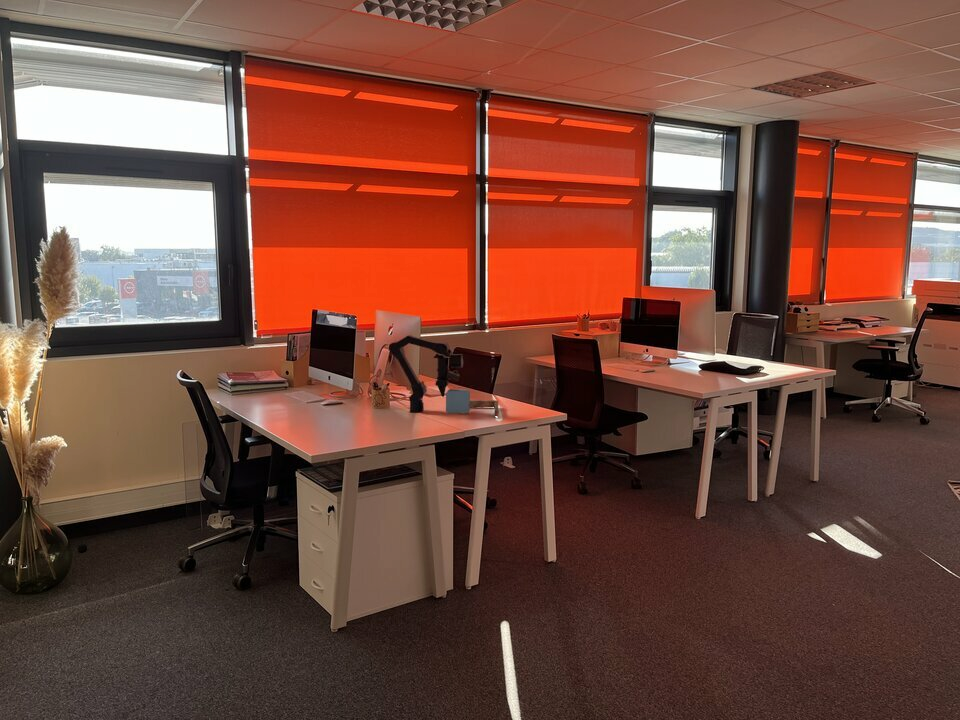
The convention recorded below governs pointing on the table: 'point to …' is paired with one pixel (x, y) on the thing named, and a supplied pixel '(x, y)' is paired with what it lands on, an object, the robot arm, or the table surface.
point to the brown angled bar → (485, 404)
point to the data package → (457, 401)
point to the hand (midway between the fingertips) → (443, 396)
